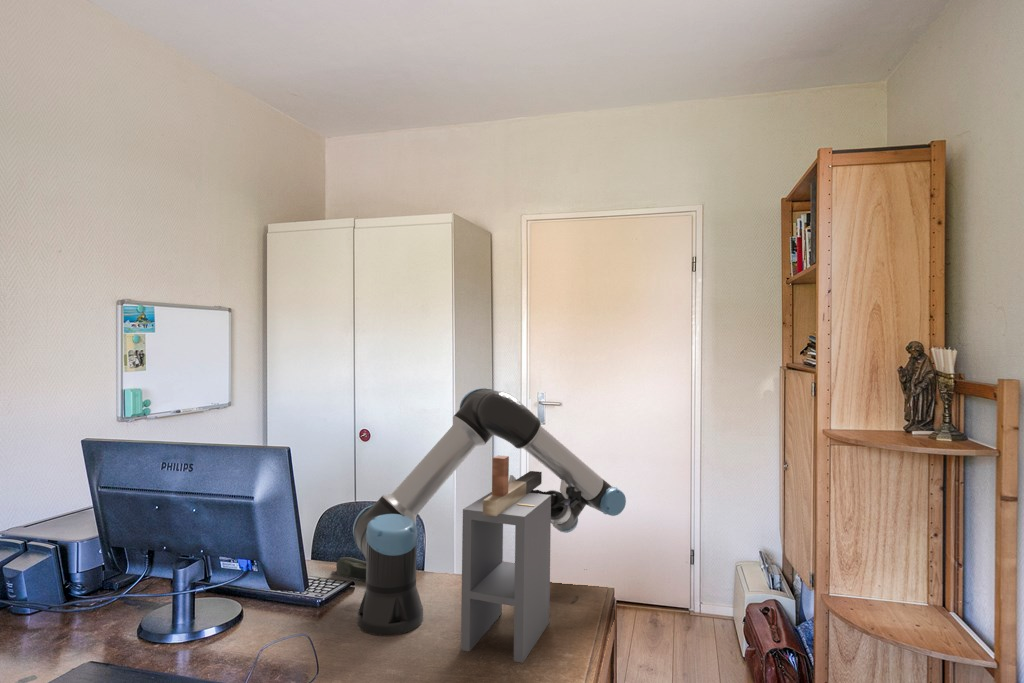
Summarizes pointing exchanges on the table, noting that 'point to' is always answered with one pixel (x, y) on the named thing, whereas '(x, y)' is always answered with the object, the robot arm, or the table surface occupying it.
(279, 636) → the table surface
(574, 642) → the table surface
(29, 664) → the table surface
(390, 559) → the robot arm
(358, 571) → the mobile phone
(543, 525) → the shelf
